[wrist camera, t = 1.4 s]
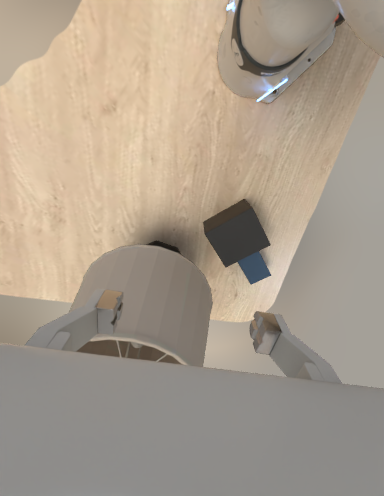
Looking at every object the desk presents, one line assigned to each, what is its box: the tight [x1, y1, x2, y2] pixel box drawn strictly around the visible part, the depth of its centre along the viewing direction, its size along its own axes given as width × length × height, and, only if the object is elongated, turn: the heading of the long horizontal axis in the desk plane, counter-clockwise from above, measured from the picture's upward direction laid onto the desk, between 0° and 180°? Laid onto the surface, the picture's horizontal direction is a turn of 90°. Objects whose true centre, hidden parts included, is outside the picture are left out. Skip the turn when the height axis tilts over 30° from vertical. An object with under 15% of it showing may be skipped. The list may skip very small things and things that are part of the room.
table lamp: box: [69, 241, 213, 367], centre depth 45 cm, size 27×27×40 cm
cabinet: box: [203, 199, 270, 267], centre depth 55 cm, size 12×11×8 cm
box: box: [238, 251, 271, 284], centre depth 61 cm, size 6×9×6 cm
